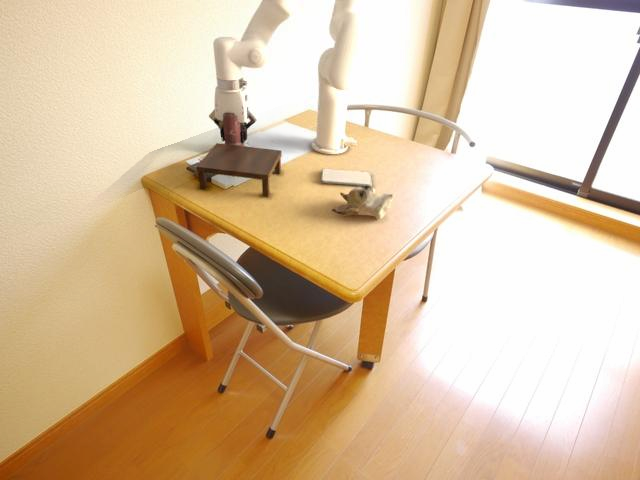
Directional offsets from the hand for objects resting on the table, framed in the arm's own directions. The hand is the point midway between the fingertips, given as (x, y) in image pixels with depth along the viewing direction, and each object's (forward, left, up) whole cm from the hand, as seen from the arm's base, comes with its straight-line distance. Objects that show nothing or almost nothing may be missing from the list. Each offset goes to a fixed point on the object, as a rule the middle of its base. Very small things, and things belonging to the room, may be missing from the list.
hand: (234, 140), depth 132 cm
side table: (-8, +18, -4) cm, 20 cm away
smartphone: (-38, +10, -4) cm, 39 cm away
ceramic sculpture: (-44, +28, -4) cm, 52 cm away
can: (0, 0, -4) cm, 4 cm away
